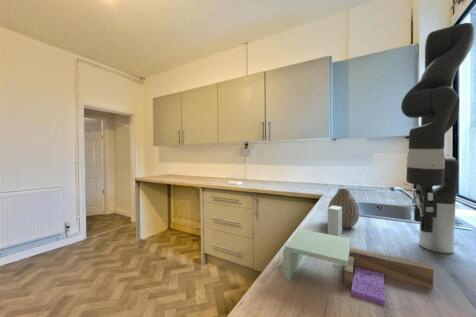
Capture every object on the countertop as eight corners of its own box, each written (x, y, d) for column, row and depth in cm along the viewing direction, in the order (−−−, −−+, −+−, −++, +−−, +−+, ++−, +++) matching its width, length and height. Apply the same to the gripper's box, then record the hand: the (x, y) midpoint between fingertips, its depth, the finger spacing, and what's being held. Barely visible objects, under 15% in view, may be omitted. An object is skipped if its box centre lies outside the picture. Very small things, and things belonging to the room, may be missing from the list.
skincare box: (331, 232, 92) (331, 205, 92) (342, 235, 90) (342, 206, 89) (327, 236, 88) (327, 208, 87) (338, 239, 85) (338, 209, 85)
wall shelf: (297, 254, 73) (297, 228, 72) (350, 268, 65) (351, 238, 64) (282, 277, 60) (283, 245, 59) (346, 297, 52) (347, 261, 51)
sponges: (383, 280, 60) (383, 273, 59) (385, 308, 49) (385, 300, 49) (355, 272, 63) (355, 266, 63) (350, 296, 53) (351, 289, 53)
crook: (346, 262, 68) (347, 246, 68) (429, 281, 58) (429, 263, 58) (343, 285, 56) (344, 266, 56) (446, 314, 46) (447, 291, 46)
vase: (330, 230, 95) (331, 191, 94) (325, 220, 108) (326, 186, 107) (363, 233, 92) (364, 192, 91) (354, 222, 105) (355, 187, 104)
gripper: (453, 169, 48) (450, 239, 49) (436, 164, 61) (433, 220, 62) (411, 167, 52) (409, 232, 53) (403, 163, 64) (401, 216, 65)
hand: (422, 226), depth 57 cm, fingers open, 8 cm apart
